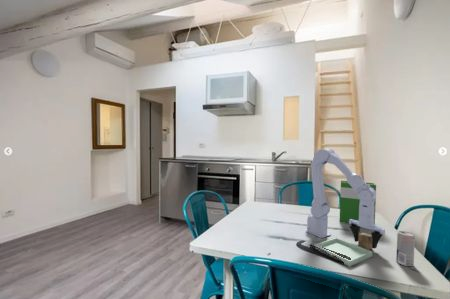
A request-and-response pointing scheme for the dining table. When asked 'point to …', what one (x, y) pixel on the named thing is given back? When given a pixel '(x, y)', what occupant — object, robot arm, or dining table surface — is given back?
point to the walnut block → (365, 241)
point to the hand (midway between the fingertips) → (365, 244)
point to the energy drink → (405, 248)
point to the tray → (345, 251)
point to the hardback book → (351, 202)
